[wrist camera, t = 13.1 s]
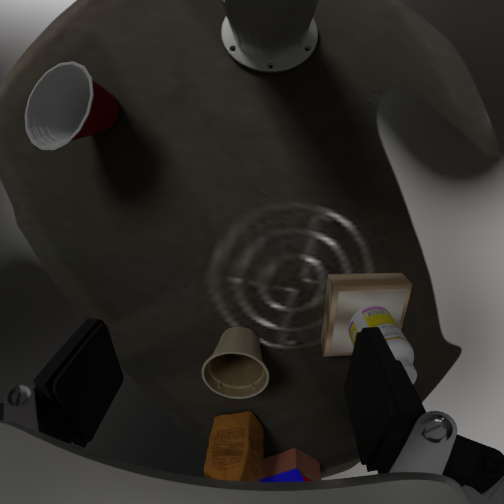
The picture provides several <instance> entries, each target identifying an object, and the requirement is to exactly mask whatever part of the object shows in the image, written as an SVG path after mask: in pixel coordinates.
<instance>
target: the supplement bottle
mask: <svg viewBox="0 0 504 504" xmlns="http://www.w3.org/2000/svg"><path fill="white" fill-rule="evenodd" d="M366 327H379V328H380V330H381V332H382V334H383V336H384V338H385V340H386V341H387V343H388V345H389V347H390V349H391V351H392V353H393V355H394V357H395V359H396V360H399V361H401V363H402V364H403V366H404V368H405V370H406V372H407V374H408V376H409V378H410V380H411V382H412V384H414V383H415V381H416V378H417V372H416V370H415V368H414V366H413V361H414V352H413V349H412V347H411V345H410V343H409V342H408V340H407V339H406V337H405V336H404V334H403V333H402V331H401V329H400V328H399V326H398V325H397V323H396V322H395V320H394V319H393V317H392V316H391V314H390V313H389V312H388V310H387V309H385V308H384V307H382V306H379V305H370V306H366V307H364V308H362V309H360V310H359V311H357V312H356V313H355V314H354V315H353V317H352V318H351V320H350V322H349V326H348V332H349V336H350V339H351V341H352V344H353V346H354V343H355V339H356V334H357V332H361V330H362V328H366Z"/></svg>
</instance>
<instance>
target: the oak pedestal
mask: <svg viewBox="0 0 504 504" xmlns="http://www.w3.org/2000/svg"><path fill="white" fill-rule="evenodd" d="M411 288H412V283H411V282H410V281H409V280H408V279H407V278H406V277H405V276H404V275H403V274H402V273H374V274H328V279H327V290H326V300H325V309H324V317H323V326H322V334H321V345H322V350H323V354H324V357H325V356H344V355H352V353H353V348H354V346H353V344H352V341H351V339H350V336H349V332H348V326H349V322H350V320H351V318H352V317H353V315H354V314H355V313H356V312H357V311H359V310H360V309H362V308H364V307H366V306H370V305H379V306H382V307H384V308H385V309H387V310H388V312H389V313H390V314H391V316H392V317H393V319H394V320H395V322H396V323H397V325H398V326H399V328H400V329H402V325H403V321H404V317H405V313H406V309H407V305H408V301H409V297H410V292H411Z"/></svg>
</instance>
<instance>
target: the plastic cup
mask: <svg viewBox="0 0 504 504" xmlns="http://www.w3.org/2000/svg"><path fill="white" fill-rule="evenodd" d="M118 113H119V105H118V102H117V100H116V99H115V97H114V96H113V95H112V94H110V93H109V92H107V90H105V89H104V88H103V87H101V86H100V85H99V84H97V83H96V82H94V81H93V80H92V78H91V76H90V74H89V73H88V71H87V70H86V68H85V66H83V65H80V64H78V63H76V62H74V61H73V62H66V63H60V64H58V65H56V66H55V67H53V68H51V69H50V70H48V71H47V72H46V73H45V74H44V75H43V76H42V77H41V79H40V80H39V81H38V82H37V83H36V85H35V87H34V89H33V91H32V93H31V95H30V97H29V99H28V103H27V107H26V112H25V125H26V132H27V134H28V136H29V138H30V140H31V142H32V143H33V144H34V145H36V146H37V147H38V148H40V149H41V150H55V149H57V148H59V147H61V146H63V145H65V144H67V143H69V142H70V141H72V140H76V139H79V138H83V137H86V136H90V135H93V134H95V133H99V132H102V131H104V130H107V129H108V128H110V127H111V126H112V125H113V124H114V123H115V121H116V119H117V117H118Z"/></svg>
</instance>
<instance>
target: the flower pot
mask: <svg viewBox="0 0 504 504" xmlns="http://www.w3.org/2000/svg"><path fill="white" fill-rule="evenodd" d="M202 378H203V380H204V382H205V384H206V385H207V386H208V387H209V388H210V389H211V390H213V391H214V392H216V393H218V394H220V395H222V396H225V397H229V398H235V399H243V398H249V397H253V396H255V395H257V394H259V393H260V392H262V391H263V390H264V389H265V388H266V386H267V384H268V382H269V372H268V369H267V367H266V366H265V364H264V362H263V361H262V355H261V350H260V344H259V339H258V337H257V335H256V334H255V333H254V332H253V331H252V330H250V329H248V328H243V327H238V326H237V327H232V328H229V329H227V330H226V331H225V332H224V333H223V334H222V336H221V338H220V341H219V343H218V345H217V347H216V349H215V351H214V353H213V355H212V356H211V357H210V358H208V359H207V360H206V362H205V363H204V365H203V368H202Z"/></svg>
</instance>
